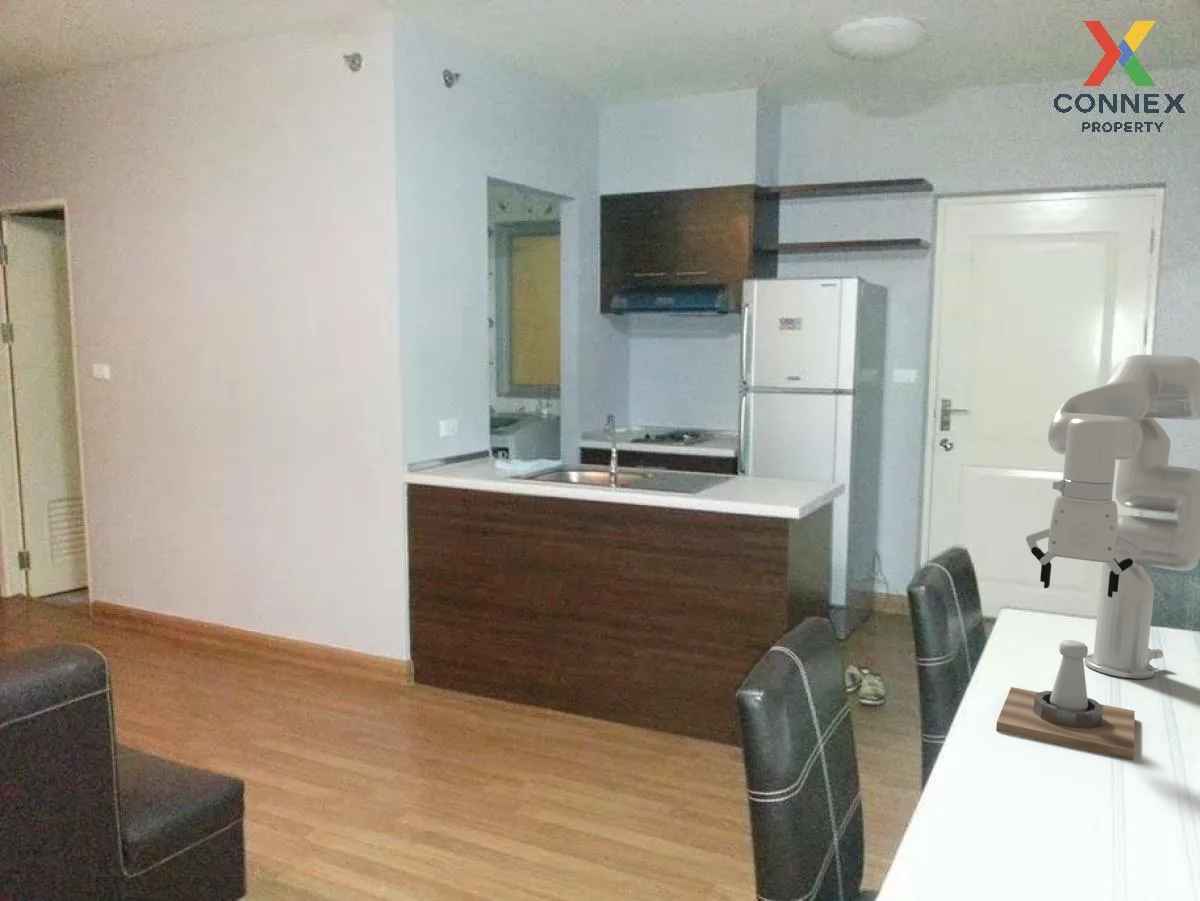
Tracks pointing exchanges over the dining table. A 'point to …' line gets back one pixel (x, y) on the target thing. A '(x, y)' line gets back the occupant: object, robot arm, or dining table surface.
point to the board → (1104, 739)
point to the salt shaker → (1071, 678)
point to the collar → (1068, 713)
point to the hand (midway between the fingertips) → (1077, 591)
